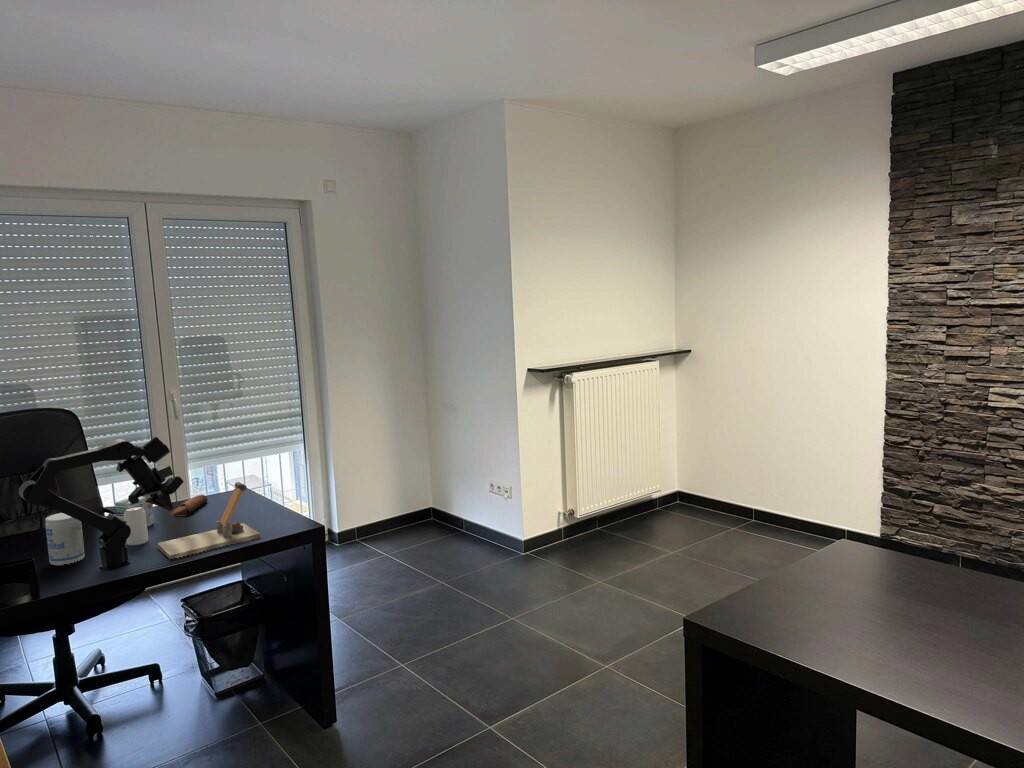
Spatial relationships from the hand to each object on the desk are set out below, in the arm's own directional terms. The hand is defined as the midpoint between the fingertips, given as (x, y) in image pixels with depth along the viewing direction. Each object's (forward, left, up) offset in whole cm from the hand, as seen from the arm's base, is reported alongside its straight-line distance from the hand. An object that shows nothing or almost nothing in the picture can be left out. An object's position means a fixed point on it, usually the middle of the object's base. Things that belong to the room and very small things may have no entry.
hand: (171, 509), depth 230 cm
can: (-1, +19, -14) cm, 23 cm away
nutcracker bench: (+9, -5, -13) cm, 17 cm away
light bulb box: (+9, +36, -14) cm, 39 cm away
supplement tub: (-21, +24, -14) cm, 35 cm away
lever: (+14, -6, -8) cm, 17 cm away
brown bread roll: (+31, +38, -14) cm, 51 cm away
